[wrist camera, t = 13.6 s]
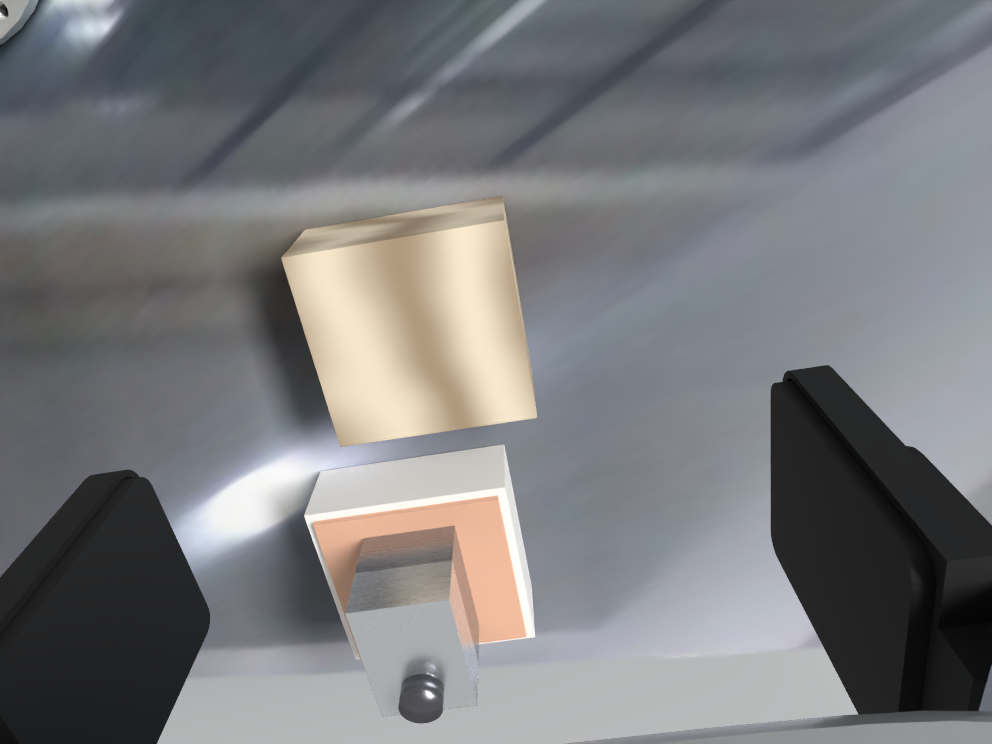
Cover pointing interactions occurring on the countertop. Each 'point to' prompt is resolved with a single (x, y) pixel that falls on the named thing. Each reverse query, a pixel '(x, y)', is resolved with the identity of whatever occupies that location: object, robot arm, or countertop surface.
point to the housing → (415, 623)
